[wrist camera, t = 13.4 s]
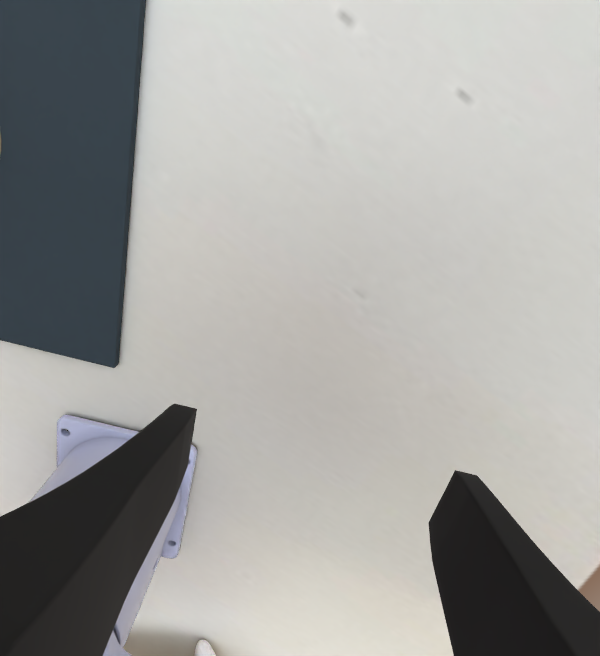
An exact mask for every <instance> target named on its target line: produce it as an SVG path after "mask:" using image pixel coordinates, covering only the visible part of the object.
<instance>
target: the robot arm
mask: <svg viewBox="0 0 600 656" xmlns="http://www.w3.org/2000/svg"><path fill="white" fill-rule="evenodd" d="M196 411H197V409H195V408H191V407H187V406H182V405H178V404H173V405H171V406H170V407H169V408H167V409H166V410H165V411H164V412H163V413H162V414H161V415H159V416H158V417H157V418H156V419H155V420H154V421H152V422H151V423H150V424H149V425H147V426H146V427H145V428H144V429H143V430H141V431H140V432H138V431H133V430H129V429H125V428H121V427H117V426H113V425H108V424H104V423H100V422H96V421H92V420H88V419H84V418H79V417H75V416H71V415H63V416H62V417H61V418H60V419H59V420H58V422H57V469H56V470H55V471H54V472H53V474H52V475H51V476H50V477H49V478H48V480H47V481H46V482H45V483H44V485H43V486H42V487H41V488H40V489H39V491H38V492H37V493H36V494H35V495H34V497H33V498H32V499H31V500H30V502H29V503H27V504H25V505H23V506H21V507H19V508H17V509H15V510H13V511H11V512H9V513H7V514H5V515H3V516H1V517H0V656H132V655H131V654H129V653H128V652H127V651H125V650H124V649H123V647H124V645H125V643H126V641H127V638H128V636H129V633H130V631H131V628H132V626H133V623H134V621H135V619H136V616H137V614H138V611H139V609H140V606H141V604H142V601H143V599H144V596H145V594H146V592H147V589H148V587H149V584H150V582H151V579H152V577H153V574H154V572H155V569H156V567H157V564H158V562H159V560H160V557H161V556H162V557H166V558H175V557H177V555H178V553H179V549H180V544H181V539H182V533H183V528H184V522H185V517H186V511H187V506H188V500H189V495H190V489H191V484H192V478H193V473H194V467H195V462H196V456H197V449H196V447H194V446H193V445H191V442H192V436H193V430H194V424H195V417H196ZM66 429H67V430H68V431H69V432H68V431H66ZM429 532H430V544H431V553H432V561H433V566H434V570H435V575H436V579H437V584H438V588H439V593H440V597H441V602H442V606H443V610H444V614H445V619H446V623H447V627H448V632H449V636H450V640H451V645H452V649H453V654H454V656H600V612H599V611H598V610H597V609H596V608H595V607H594V606H593V605H592V604H590V602H589V601H588V600H586V598H585V597H584V596H583V595H582V594H581V593H580V592H579V591H578V590H577V589H576V588H575V587H574V586H573V585H572V584H571V583H570V582H569V581H568V580H567V579H566V578H565V576H564V575H563V574H562V573H561V572H560V571H559V570H558V569H557V568H556V567H555V566H554V565H553V564H552V562H551V561H550V560H549V559H548V558H547V557H546V556H545V555H544V553H543V552H542V551H541V550H540V549H539V548H538V547H537V546H536V544H535V543H534V542H533V541H532V540H531V539H530V537H529V536H528V535H527V534H526V533H525V532H524V530H523V529H522V528H521V527H520V526H519V524H518V523H517V522H516V521H515V520H514V518H513V517H512V516H511V515H510V514H509V512H508V511H507V510H506V509H505V508H504V506H503V505H502V504H501V503H500V502H499V500H498V499H497V498H496V497H495V496H494V494H493V493H492V492H491V491H490V490H489V489H488V487H487V486H486V485H485V484H484V483H483V482H482V481H481V479H480V478H479V477H478V476H477V475H472V474H468V473H464V472H460V471H456V470H455V472H454V474H453V476H452V478H451V480H450V482H449V484H448V486H447V488H446V490H445V492H444V494H443V496H442V497H441V499H440V501H439V503H438V505H437V507H436V509H435V511H434V513H433V515H432V517H431V519H430V521H429Z"/></svg>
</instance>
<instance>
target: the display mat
mask: <svg viewBox="0 0 600 656" xmlns="http://www.w3.org/2000/svg"><path fill="white" fill-rule="evenodd" d="M145 4H146V0H0V340H2V341H6V342H11V343H15V344H19V345H23V346H27V347H31V348H35V349H39V350H43V351H47V352H51V353H55V354H59V355H63V356H67V357H72V358H76V359H80V360H84V361H88V362H92V363H96V364H100V365H104V366H108V367H112V368H115V367H116V366H117V365H118V363H119V349H120V336H121V323H122V310H123V296H124V283H125V270H126V256H127V243H128V230H129V216H130V203H131V190H132V177H133V163H134V150H135V137H136V123H137V110H138V97H139V84H140V70H141V57H142V44H143V30H144V17H145Z"/></svg>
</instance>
